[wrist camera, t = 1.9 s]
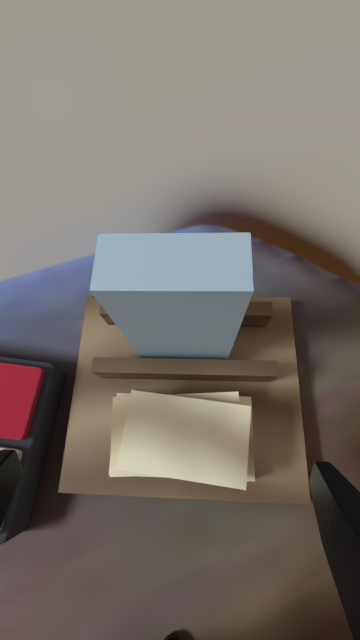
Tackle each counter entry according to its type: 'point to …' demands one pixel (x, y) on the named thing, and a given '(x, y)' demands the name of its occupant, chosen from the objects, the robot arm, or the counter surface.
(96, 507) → the counter surface
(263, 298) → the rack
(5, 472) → the robot arm
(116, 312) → the light blue brick
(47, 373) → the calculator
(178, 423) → the offcut stack
